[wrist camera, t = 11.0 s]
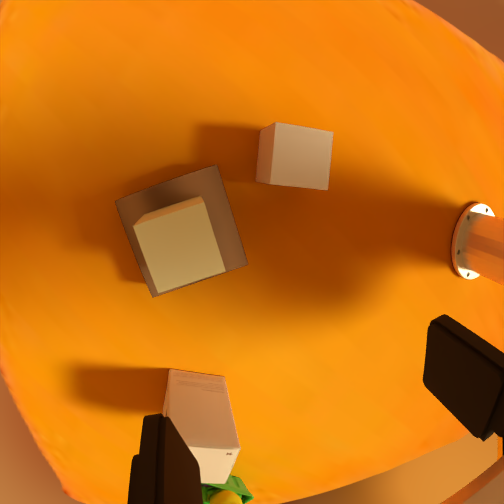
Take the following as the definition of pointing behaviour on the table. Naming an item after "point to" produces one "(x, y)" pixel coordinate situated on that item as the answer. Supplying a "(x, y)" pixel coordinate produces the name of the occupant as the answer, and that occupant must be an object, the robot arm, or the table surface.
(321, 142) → the grey block
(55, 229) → the table surface
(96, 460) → the table surface
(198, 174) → the walnut base
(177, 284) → the beige block
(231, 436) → the supplement box
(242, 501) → the fruit basket
